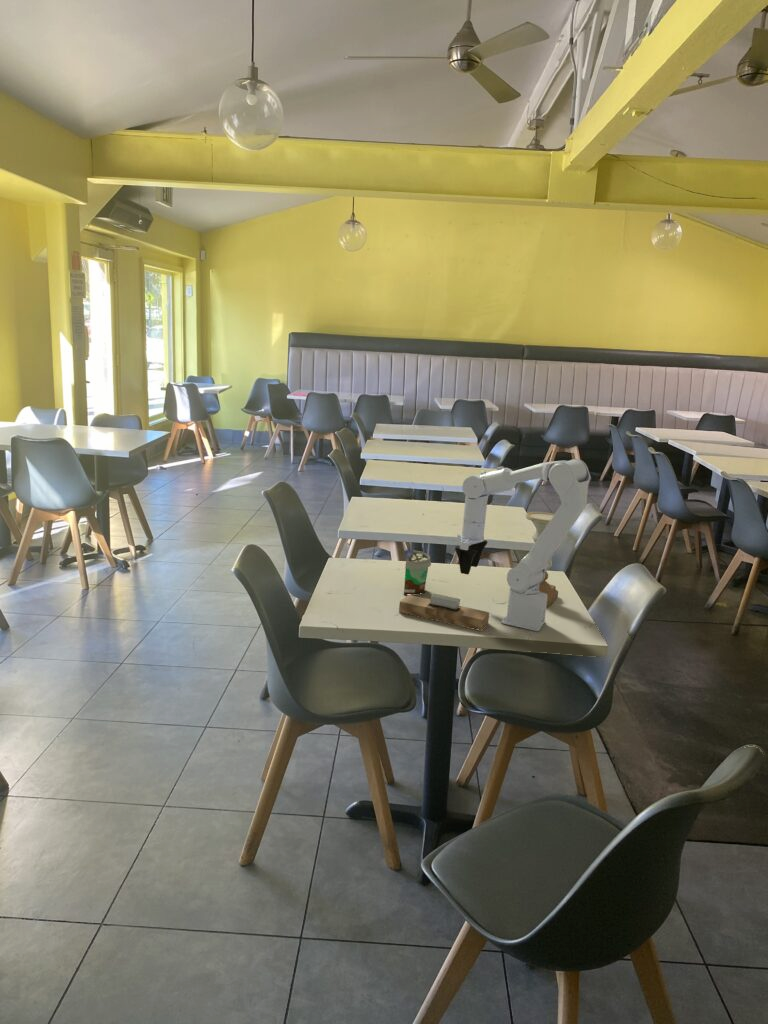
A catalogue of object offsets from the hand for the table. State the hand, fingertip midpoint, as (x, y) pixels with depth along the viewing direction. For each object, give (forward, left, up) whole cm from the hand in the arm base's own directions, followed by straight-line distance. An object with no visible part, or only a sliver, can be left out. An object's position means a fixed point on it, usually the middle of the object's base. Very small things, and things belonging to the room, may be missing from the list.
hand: (469, 569), depth 193 cm
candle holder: (-15, -17, -10) cm, 25 cm away
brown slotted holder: (+2, +13, -10) cm, 16 cm away
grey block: (+2, +13, -10) cm, 16 cm away
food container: (+15, -3, -10) cm, 18 cm away
